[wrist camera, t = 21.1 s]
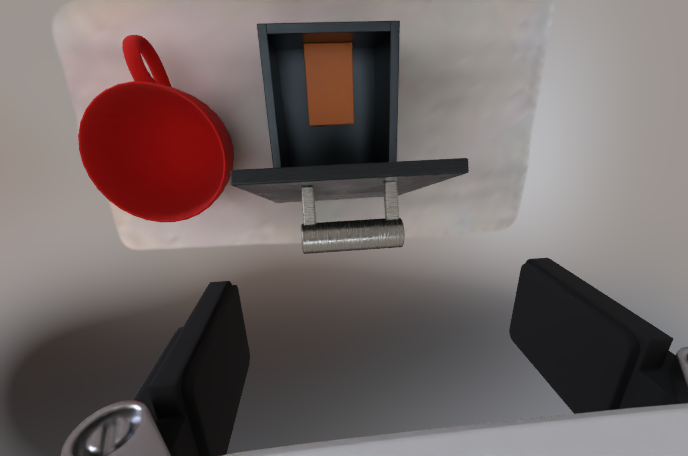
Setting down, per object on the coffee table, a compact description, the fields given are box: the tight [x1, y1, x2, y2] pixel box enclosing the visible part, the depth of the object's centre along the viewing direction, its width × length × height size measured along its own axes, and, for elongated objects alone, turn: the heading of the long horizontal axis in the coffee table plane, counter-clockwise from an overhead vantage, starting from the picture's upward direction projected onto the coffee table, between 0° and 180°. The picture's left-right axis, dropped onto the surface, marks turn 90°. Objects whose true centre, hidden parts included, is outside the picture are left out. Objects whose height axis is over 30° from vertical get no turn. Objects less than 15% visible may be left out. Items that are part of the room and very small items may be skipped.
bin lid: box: [230, 158, 469, 254], centre depth 25 cm, size 16×13×5 cm
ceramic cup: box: [78, 35, 234, 222], centre depth 33 cm, size 13×17×10 cm
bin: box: [257, 21, 400, 168], centre depth 35 cm, size 16×13×9 cm
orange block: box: [303, 42, 354, 126], centre depth 35 cm, size 8×5×4 cm, turn 2°
